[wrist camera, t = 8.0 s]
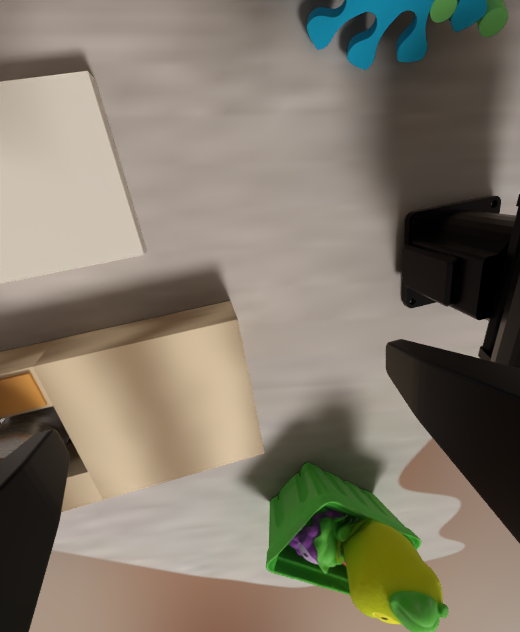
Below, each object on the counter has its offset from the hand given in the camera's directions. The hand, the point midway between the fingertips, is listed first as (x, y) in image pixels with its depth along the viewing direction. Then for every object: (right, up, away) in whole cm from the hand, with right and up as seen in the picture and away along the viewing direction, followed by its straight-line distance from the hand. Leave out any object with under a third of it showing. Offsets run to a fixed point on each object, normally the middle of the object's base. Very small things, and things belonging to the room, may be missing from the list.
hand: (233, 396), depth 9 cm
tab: (-11, +8, +7) cm, 16 cm away
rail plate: (-9, -3, +12) cm, 16 cm away
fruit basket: (+7, -14, +21) cm, 26 cm away
